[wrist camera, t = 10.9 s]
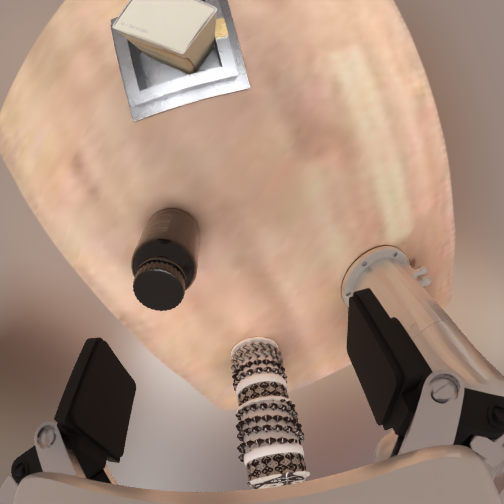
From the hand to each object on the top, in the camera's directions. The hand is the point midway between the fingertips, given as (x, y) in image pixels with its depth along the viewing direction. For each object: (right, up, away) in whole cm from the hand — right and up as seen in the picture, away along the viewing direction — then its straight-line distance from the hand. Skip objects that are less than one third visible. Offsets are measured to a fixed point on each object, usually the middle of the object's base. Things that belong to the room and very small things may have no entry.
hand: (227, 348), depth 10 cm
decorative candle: (+1, -14, +37) cm, 39 cm away
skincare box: (-6, +25, +13) cm, 29 cm away
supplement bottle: (-9, +6, +24) cm, 27 cm away
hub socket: (-7, +25, +14) cm, 30 cm away
